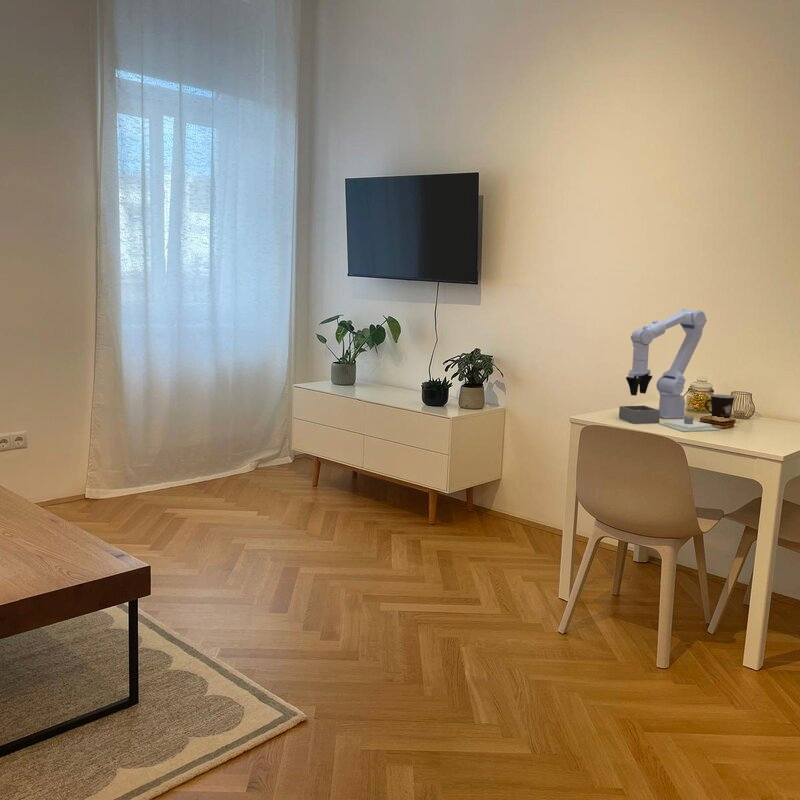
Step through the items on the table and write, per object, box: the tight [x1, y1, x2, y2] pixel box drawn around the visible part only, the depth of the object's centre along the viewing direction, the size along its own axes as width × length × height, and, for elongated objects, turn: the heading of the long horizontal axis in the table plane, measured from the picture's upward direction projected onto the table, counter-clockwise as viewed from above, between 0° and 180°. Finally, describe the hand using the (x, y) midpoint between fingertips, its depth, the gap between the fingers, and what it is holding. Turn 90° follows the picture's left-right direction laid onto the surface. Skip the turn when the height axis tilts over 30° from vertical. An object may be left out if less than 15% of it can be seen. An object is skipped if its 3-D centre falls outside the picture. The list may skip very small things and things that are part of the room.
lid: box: [664, 415, 713, 430], centre depth 315 cm, size 12×12×4 cm
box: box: [618, 405, 661, 425], centre depth 325 cm, size 11×11×5 cm
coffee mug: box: [704, 394, 735, 419], centre depth 328 cm, size 12×9×10 cm
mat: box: [657, 422, 721, 433], centre depth 315 cm, size 16×16×1 cm
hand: (638, 394), depth 329 cm, fingers open, 7 cm apart
